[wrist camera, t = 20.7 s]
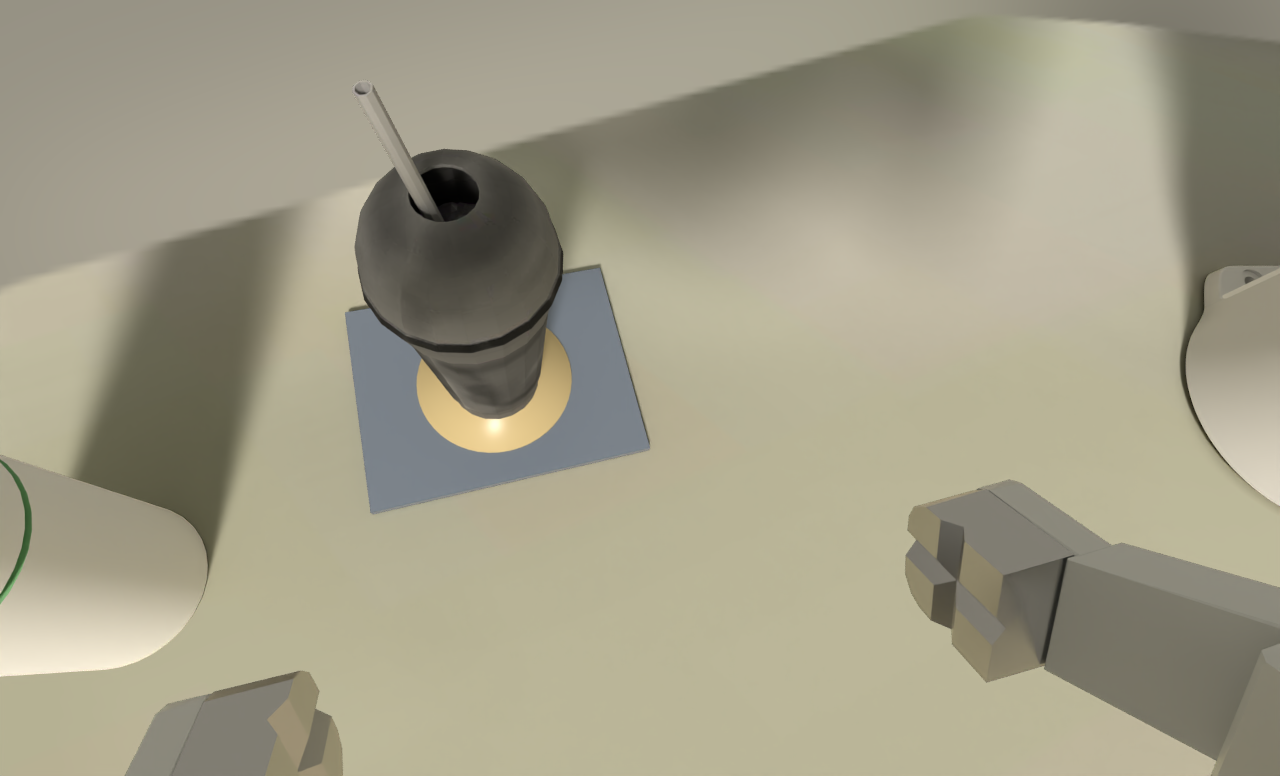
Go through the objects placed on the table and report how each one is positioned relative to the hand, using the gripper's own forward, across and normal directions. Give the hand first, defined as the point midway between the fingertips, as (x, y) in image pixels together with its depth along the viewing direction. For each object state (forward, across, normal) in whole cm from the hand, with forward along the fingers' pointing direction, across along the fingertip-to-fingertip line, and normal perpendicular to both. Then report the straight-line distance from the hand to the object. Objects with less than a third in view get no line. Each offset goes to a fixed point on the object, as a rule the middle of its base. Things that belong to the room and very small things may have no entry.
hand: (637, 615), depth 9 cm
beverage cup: (+26, +2, +7) cm, 27 cm away
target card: (+26, +2, +7) cm, 27 cm away
